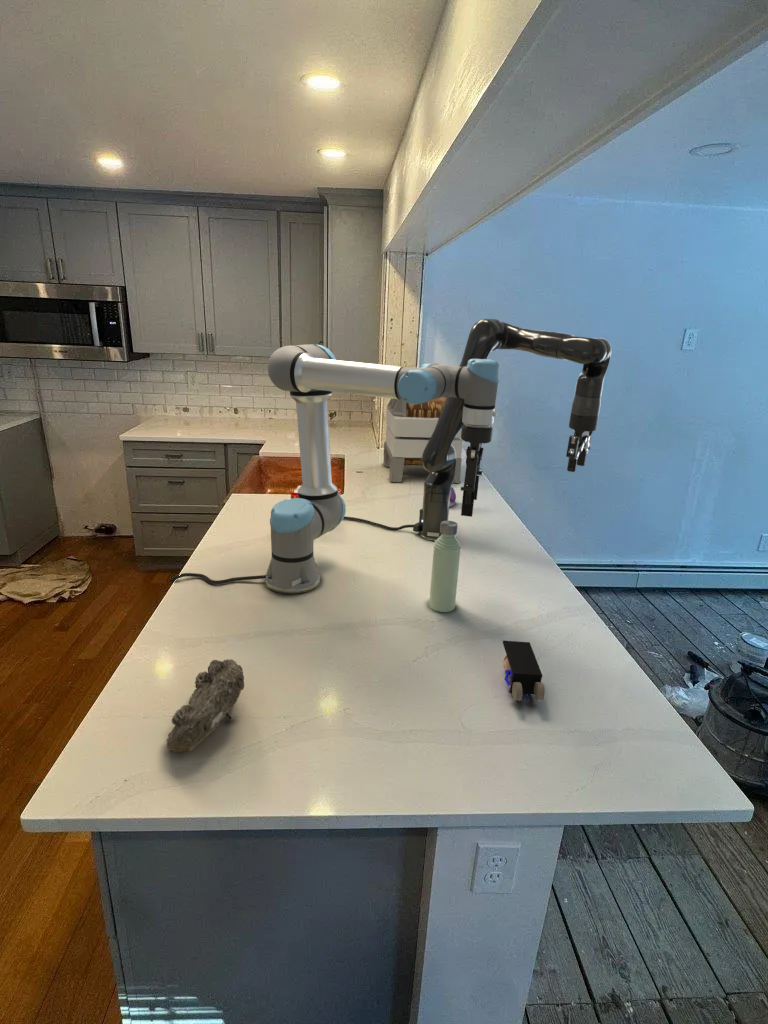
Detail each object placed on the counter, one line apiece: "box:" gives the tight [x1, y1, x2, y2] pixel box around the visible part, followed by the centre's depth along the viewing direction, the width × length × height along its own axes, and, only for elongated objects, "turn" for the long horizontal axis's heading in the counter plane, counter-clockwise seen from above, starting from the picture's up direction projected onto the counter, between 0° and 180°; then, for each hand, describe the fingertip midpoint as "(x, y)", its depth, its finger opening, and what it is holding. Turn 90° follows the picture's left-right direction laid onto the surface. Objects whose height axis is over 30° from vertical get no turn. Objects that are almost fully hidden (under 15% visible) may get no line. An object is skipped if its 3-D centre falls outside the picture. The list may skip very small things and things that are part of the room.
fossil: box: [166, 658, 245, 754], centre depth 106 cm, size 22×10×15 cm
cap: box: [440, 520, 459, 536], centre depth 145 cm, size 4×4×2 cm
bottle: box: [428, 534, 462, 613], centre depth 149 cm, size 7×7×23 cm
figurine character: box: [502, 639, 546, 706], centre depth 119 cm, size 7×8×15 cm
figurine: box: [449, 486, 457, 508], centre depth 230 cm, size 9×10×15 cm
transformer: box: [383, 397, 464, 484], centre depth 268 cm, size 34×33×41 cm
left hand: (469, 507), depth 145 cm, fingers open, 13 cm apart
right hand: (575, 468), depth 164 cm, fingers open, 8 cm apart
